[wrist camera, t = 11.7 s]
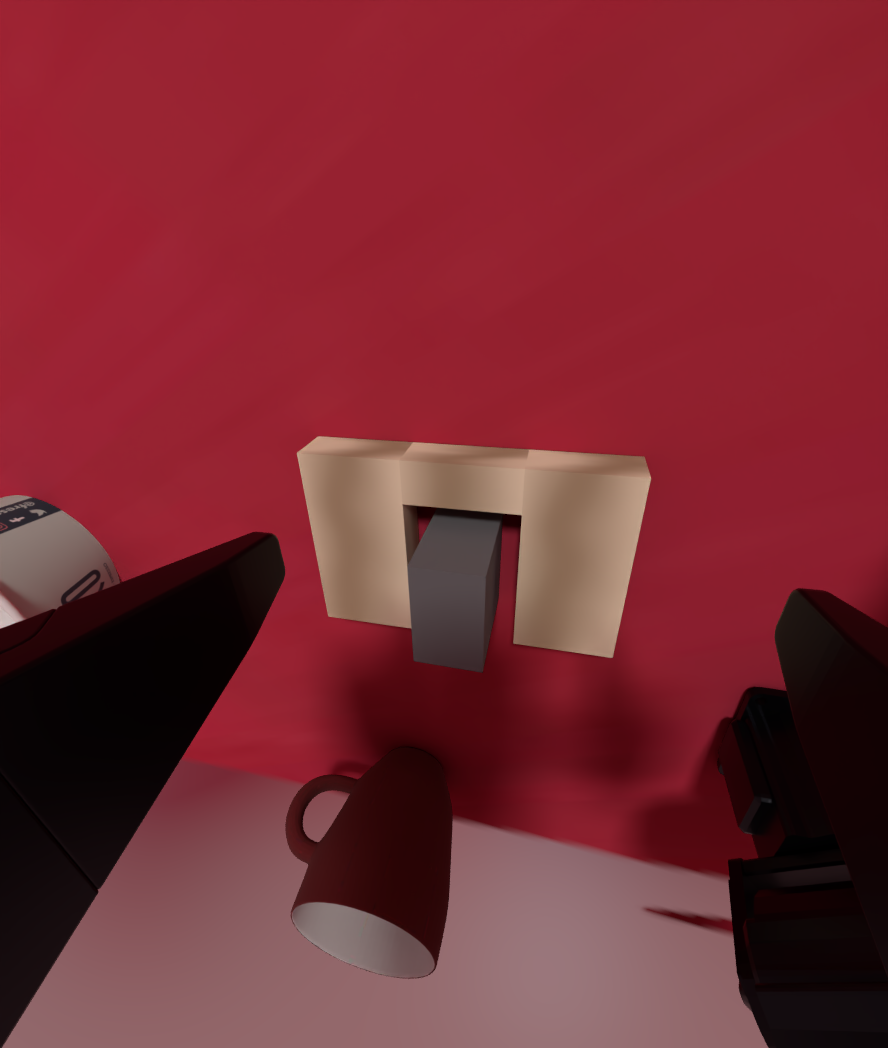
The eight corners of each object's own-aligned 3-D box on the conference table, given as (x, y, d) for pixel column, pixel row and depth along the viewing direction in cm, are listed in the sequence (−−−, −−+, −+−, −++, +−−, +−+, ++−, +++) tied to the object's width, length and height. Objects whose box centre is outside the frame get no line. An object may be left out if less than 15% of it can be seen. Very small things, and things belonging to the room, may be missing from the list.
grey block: (503, 511, 22) (485, 576, 18) (498, 597, 24) (482, 672, 20) (438, 504, 22) (407, 566, 18) (440, 589, 25) (413, 661, 21)
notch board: (644, 456, 19) (650, 478, 17) (609, 628, 24) (612, 657, 22) (318, 436, 22) (296, 453, 20) (343, 592, 27) (328, 616, 25)
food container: (-63, 453, 28) (-214, 505, 23) (117, 500, 27) (1, 567, 22) (9, 604, 35) (-96, 672, 30) (156, 648, 34) (75, 728, 28)
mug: (329, 772, 36) (256, 932, 28) (324, 703, 32) (236, 868, 24) (465, 812, 35) (430, 994, 27) (479, 745, 31) (444, 937, 22)
